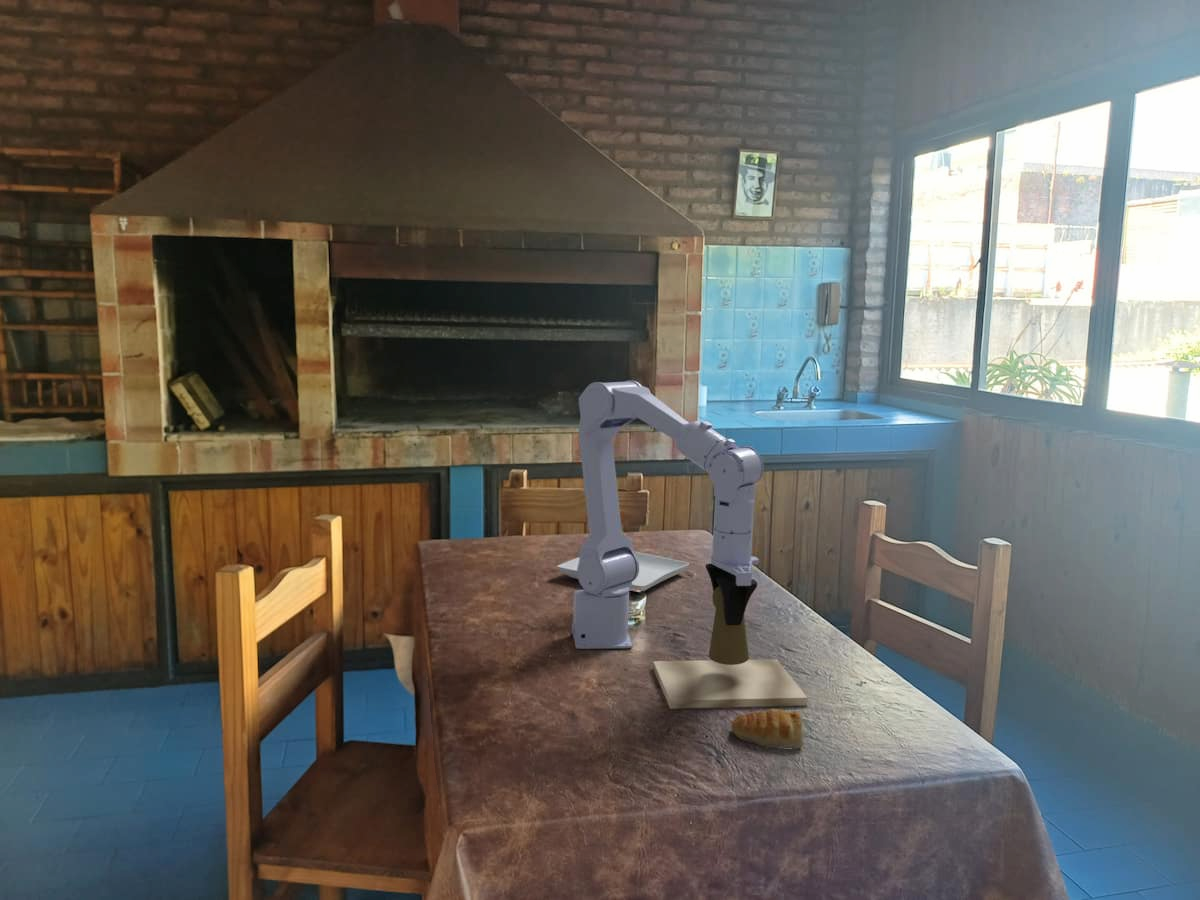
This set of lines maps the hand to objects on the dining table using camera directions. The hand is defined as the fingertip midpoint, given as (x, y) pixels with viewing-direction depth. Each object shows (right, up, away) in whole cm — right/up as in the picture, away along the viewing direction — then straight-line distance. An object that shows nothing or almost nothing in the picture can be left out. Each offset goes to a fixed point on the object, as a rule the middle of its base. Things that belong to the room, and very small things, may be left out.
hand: (728, 617), depth 128 cm
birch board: (0, -10, +1) cm, 10 cm away
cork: (0, -6, +1) cm, 6 cm away
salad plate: (-14, -3, +54) cm, 56 cm away
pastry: (+4, -13, -15) cm, 20 cm away
